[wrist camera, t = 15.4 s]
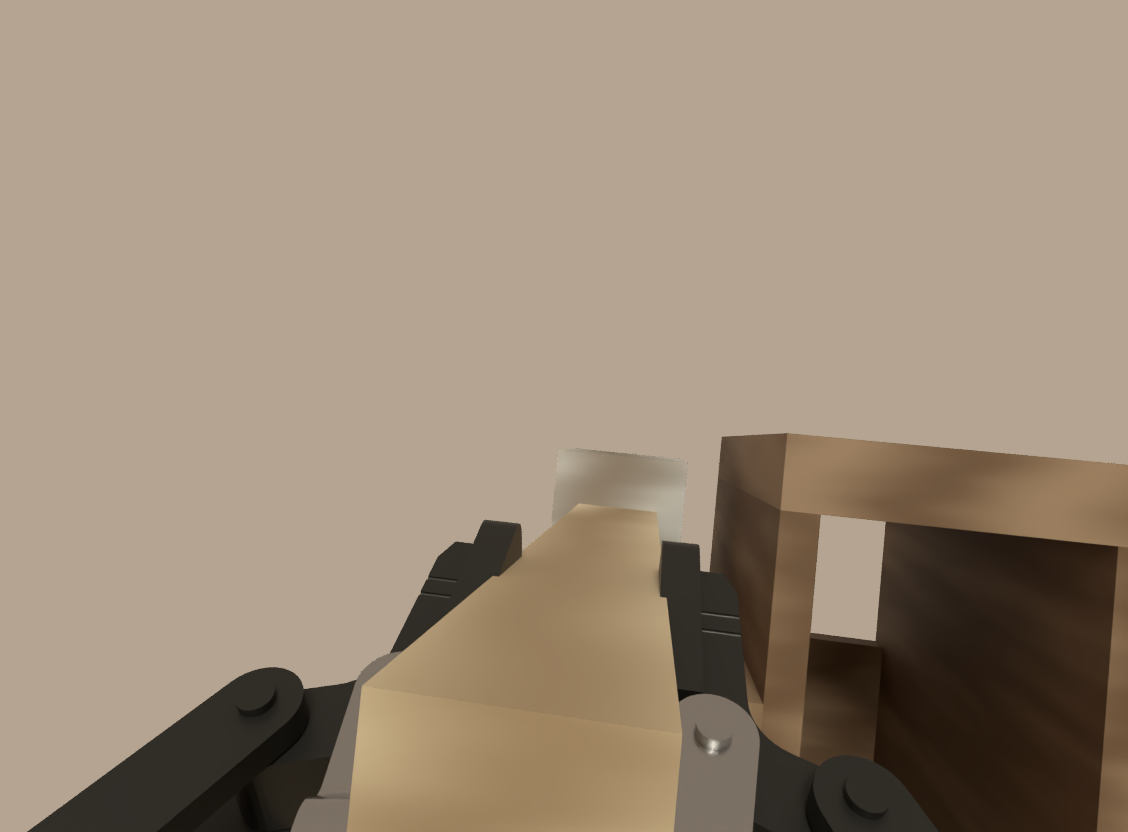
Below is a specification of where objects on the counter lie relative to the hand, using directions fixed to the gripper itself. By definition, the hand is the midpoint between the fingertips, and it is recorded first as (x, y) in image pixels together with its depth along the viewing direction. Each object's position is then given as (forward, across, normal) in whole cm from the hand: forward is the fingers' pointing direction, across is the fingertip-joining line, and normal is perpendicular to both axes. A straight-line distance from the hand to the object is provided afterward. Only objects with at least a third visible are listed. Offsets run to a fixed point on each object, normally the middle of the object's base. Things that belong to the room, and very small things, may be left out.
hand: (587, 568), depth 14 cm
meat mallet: (+4, 0, +6) cm, 7 cm away
